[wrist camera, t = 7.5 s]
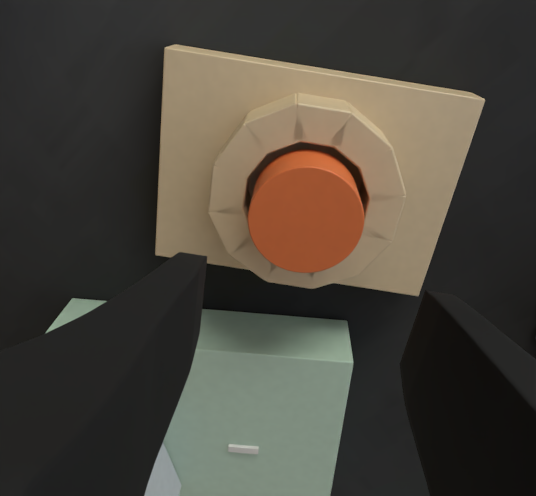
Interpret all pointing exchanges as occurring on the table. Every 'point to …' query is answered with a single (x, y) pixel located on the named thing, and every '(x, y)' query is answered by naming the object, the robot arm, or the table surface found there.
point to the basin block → (257, 404)
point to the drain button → (305, 211)
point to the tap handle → (163, 477)
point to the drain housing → (315, 138)
